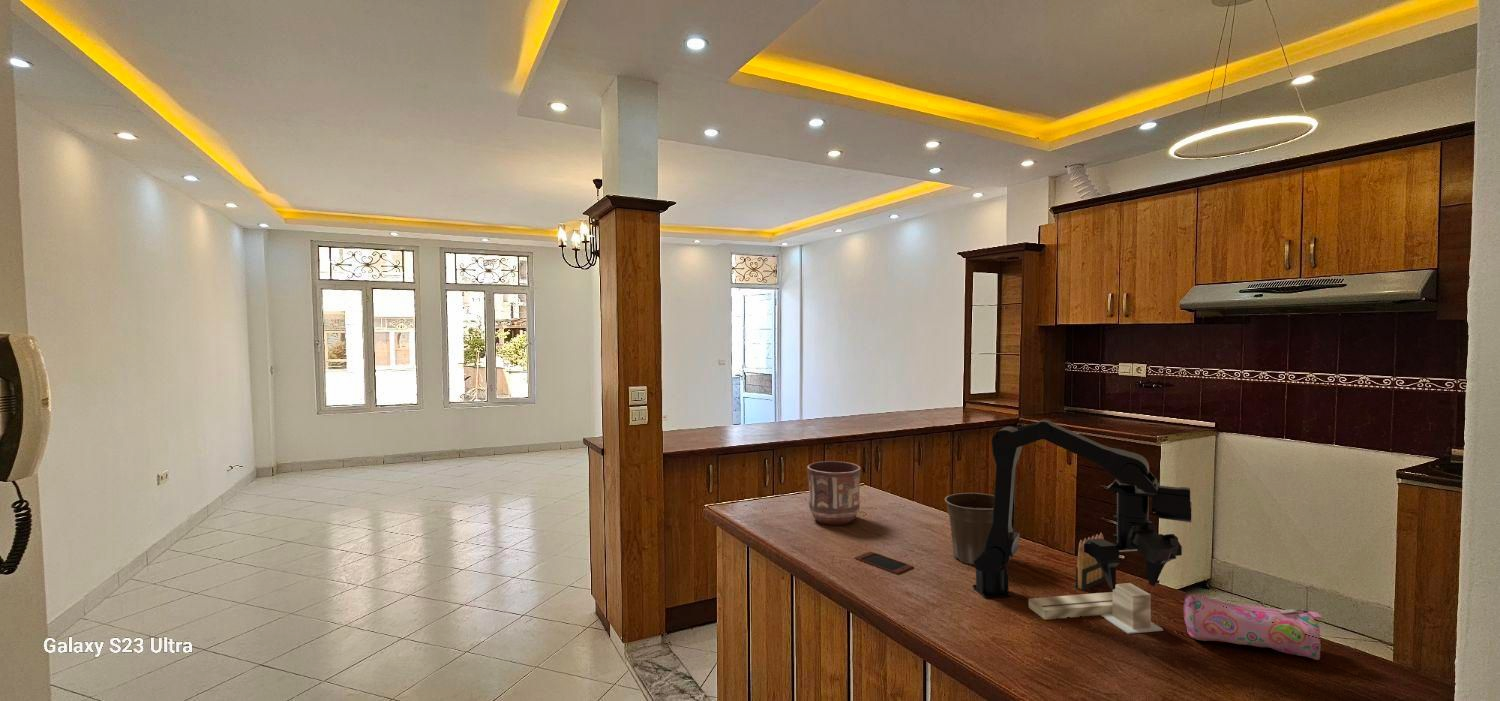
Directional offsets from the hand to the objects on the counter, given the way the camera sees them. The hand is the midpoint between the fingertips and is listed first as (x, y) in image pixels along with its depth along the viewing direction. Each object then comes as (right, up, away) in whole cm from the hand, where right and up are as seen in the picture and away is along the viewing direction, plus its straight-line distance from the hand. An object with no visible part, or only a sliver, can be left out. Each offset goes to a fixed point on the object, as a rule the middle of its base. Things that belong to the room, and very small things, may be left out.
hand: (1132, 587), depth 133 cm
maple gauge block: (0, -8, 0) cm, 8 cm away
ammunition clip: (+2, -7, +20) cm, 22 cm away
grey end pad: (0, -8, 0) cm, 8 cm away
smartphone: (-45, -8, +36) cm, 58 cm away
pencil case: (+17, -8, -10) cm, 21 cm away
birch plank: (-7, -8, +7) cm, 12 cm away
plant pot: (-19, -7, +39) cm, 44 cm away
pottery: (-53, -6, +75) cm, 92 cm away
